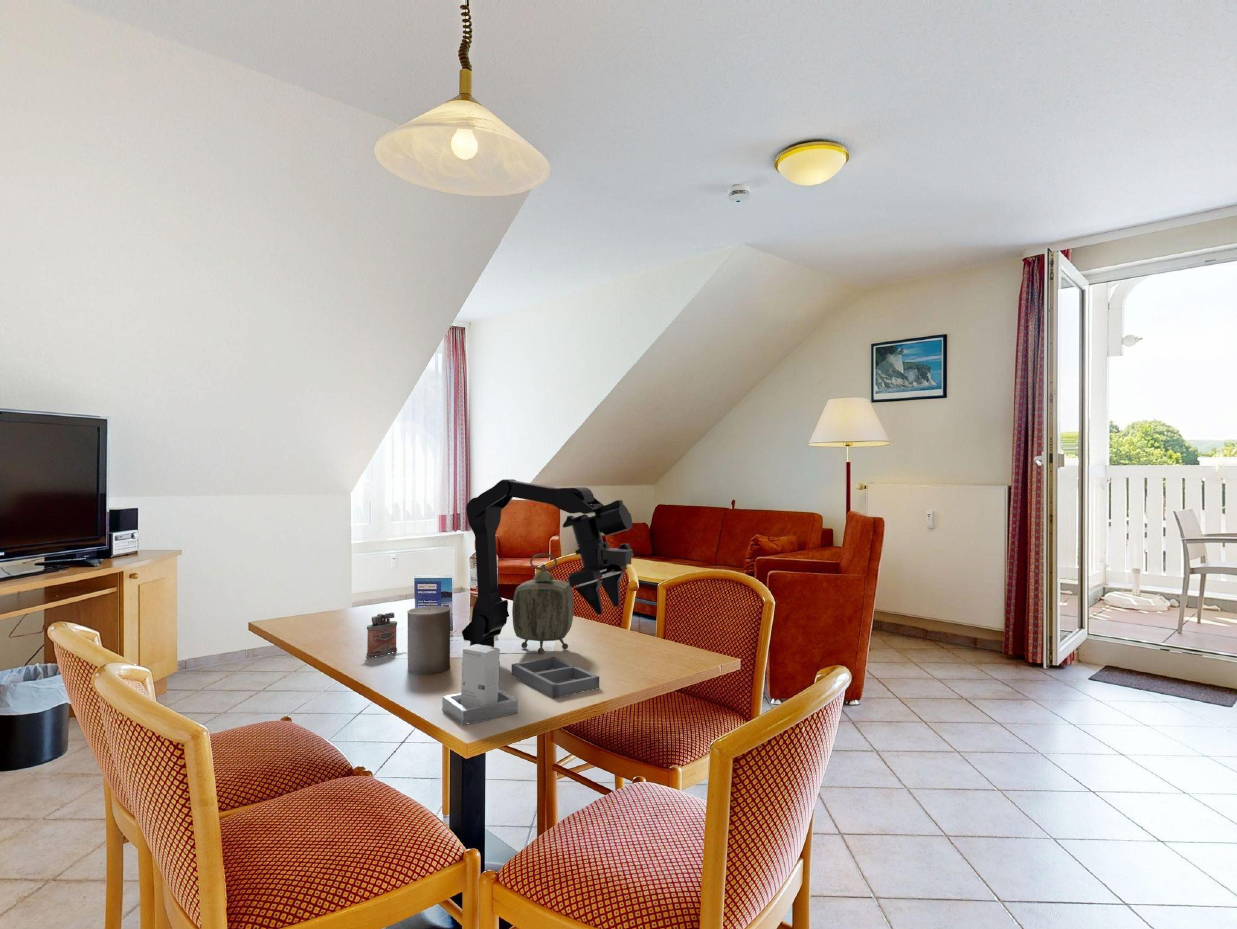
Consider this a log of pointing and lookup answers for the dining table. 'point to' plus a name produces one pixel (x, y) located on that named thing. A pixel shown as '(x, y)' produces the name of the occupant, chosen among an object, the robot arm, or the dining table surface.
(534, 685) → the rack
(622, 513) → the robot arm
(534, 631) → the tabletop clock
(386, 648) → the lighter
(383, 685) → the dining table surface
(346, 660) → the dining table surface
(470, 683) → the skincare box
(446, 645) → the pillar candle
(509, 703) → the socket
